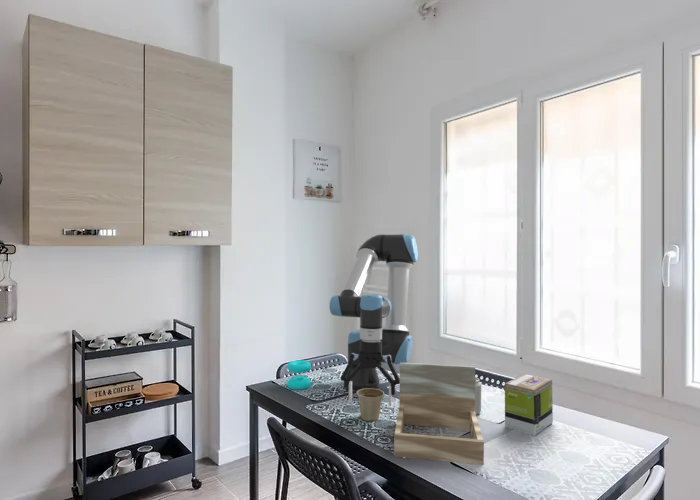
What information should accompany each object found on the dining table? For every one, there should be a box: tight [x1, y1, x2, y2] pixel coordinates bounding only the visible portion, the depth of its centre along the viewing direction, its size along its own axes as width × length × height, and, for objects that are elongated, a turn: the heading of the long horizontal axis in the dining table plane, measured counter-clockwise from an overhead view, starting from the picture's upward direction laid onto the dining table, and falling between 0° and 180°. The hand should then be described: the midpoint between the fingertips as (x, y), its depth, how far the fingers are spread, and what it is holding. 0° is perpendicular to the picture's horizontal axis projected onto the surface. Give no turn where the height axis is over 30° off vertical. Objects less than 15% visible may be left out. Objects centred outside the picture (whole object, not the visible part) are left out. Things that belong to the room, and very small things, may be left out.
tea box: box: [504, 373, 554, 436], centre depth 145 cm, size 15×10×15 cm, turn 134°
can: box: [475, 376, 482, 416], centre depth 156 cm, size 8×8×12 cm
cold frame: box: [393, 362, 485, 465], centre depth 132 cm, size 24×24×20 cm
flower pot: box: [356, 388, 385, 422], centre depth 150 cm, size 9×9×9 cm
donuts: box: [286, 359, 312, 391], centre depth 182 cm, size 10×10×10 cm
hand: (370, 402), depth 150 cm, fingers open, 13 cm apart
